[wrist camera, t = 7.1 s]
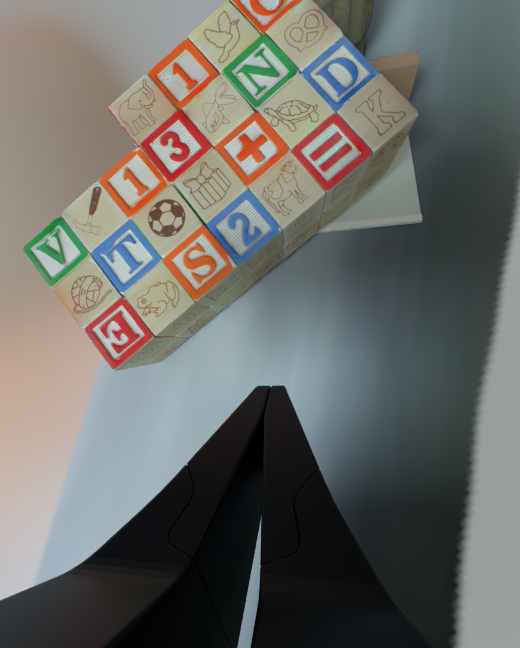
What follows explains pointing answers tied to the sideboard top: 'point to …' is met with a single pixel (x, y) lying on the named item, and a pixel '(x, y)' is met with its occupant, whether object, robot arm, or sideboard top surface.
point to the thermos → (350, 18)
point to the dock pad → (399, 181)
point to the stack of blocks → (220, 175)
